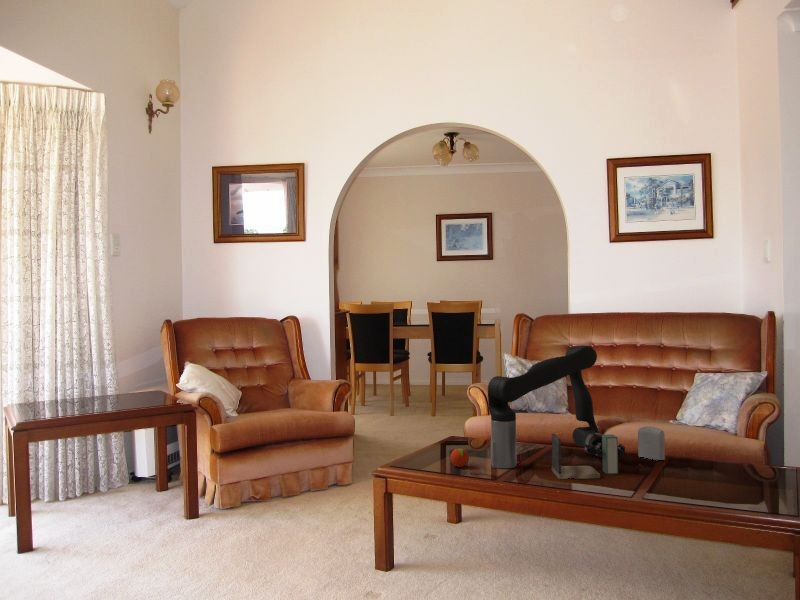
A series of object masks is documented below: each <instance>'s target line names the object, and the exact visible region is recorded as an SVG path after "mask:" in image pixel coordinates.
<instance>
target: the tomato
mask: <svg viewBox="0 0 800 600" xmlns="http://www.w3.org/2000/svg"><path fill="white" fill-rule="evenodd" d="M469 456H470V455H469V453H468V451H467V450H466V449H464V448H461V447H458V448H454V449H453V450H452V452H451V453H450V462H451V463H452V465H454V466H455V467H456V466H457V467H456V468H463V467H465V466H467V464H468V463H469V461H470V457H469Z"/></svg>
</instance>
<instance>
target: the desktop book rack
mask: <svg viewBox="0 0 800 600" xmlns="http://www.w3.org/2000/svg"><path fill="white" fill-rule="evenodd" d="M561 450H562V448H561V438H560V437H559V436H558V435H556V434H555V433H551V460H552V461H551V465H552V466H551V471H552V472H553V474H554V475H555V476H556V477H557V478H558V479H559V480H561V479H562V480H569V479H568V478H570V480H572V479H571V478H574V479H575V480H577V479H578V480H579V479H580V480H581V479H582V480H584V479H601V474H600V473H599V472H598V471H597V470H596V469H595V468H594V467H592V466H591V465H565V466H563V465H562V459H561V458H562V457H561V455H562V454H561V452H562V451H561ZM574 479H573V480H574Z"/></svg>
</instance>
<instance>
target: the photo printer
mask: <svg viewBox="0 0 800 600" xmlns="http://www.w3.org/2000/svg"><path fill="white" fill-rule="evenodd" d="M637 449H638V450H637V453H638V455H637V456H638V458H640V457H644V458H643V459H646V458H648V459H647V460H652V459H653V460H654V461H658V460H664V461H665V460H666V445H665V431H664V430H663V429H661V428H658V427H655V426H647V425H646V426H641V427H638V430H637ZM653 460H652V461H653Z"/></svg>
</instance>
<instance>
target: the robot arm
mask: <svg viewBox="0 0 800 600" xmlns="http://www.w3.org/2000/svg"><path fill="white" fill-rule="evenodd" d="M597 359H598V354H597V351H596V350H595V349H594V348H593V347H592V346H589V345H576V346H570V347H569V348H568V349H567V350H566V352H565V355H562V356H555V357H550V358H547V359H544V360H543V359H542V360H541V361H539V362H536V363H534V364H533V365H532V366H530V367H529V369H528V370H527V371H526V372H525V373H524V374H520V375H518V376H517V375H516V376H514V377H511V376H510V377H507V376H501V375H500V376H499V375H497V376H493V377H492V378H490V381H488V385H487V403H488V405H487V406H488V411H489V415H490V427H491V428H490V432H491V434H490V435H491V436H490V438H491V439H490V465H491V466H492V468H493V469H494V468H496V469H513V468H516V467H517V464H518V463H517V462H518V461H517V414H516V412H515V411H514V410H513V409H512V407H510V405H509V403H513V402H515V401H517V400H519V399H520V398H522V397H524V396H525V395H527V394H529V393H530V392H533V391H536V390H538V389H540V388H542V387H545V386H549V385H550V384H553V383H555V382H557V381H559V380H561V379H563V378H566V377H568V376H569V380H570V384H571V388H572V393H573V394H572V395H573V400H574V410H575V411H574V412H575V420H577V421H579V422H584V423H586V424H587V425H588V426H582V427H576V428H575V429H573V432H572V439H573V442H574V444H575V445H577V446H578V447H583V448H584V452H585V453H587V454H589V455H591V456H593V455H595V456H597V457H599V458H600V457H601V458H602V457H603V451H602V435H603V434H601V433H600V431H599V428H598V425H597V423H596V420H595V415H594V406H593V405H594V403H593V398H592V396H591V392H590V391H589V390H588V387H587V386H586V384H585V383H586V382H585V381H584V379H583V373H582V370H583V371H584V370H588V369H590V368H592V367H593V366H594V365H595V364H596V362H597V361H598V360H597ZM624 455H626V446H625V445H623V444H621V443H618V457H620V458H621V457H623V456H624Z"/></svg>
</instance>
